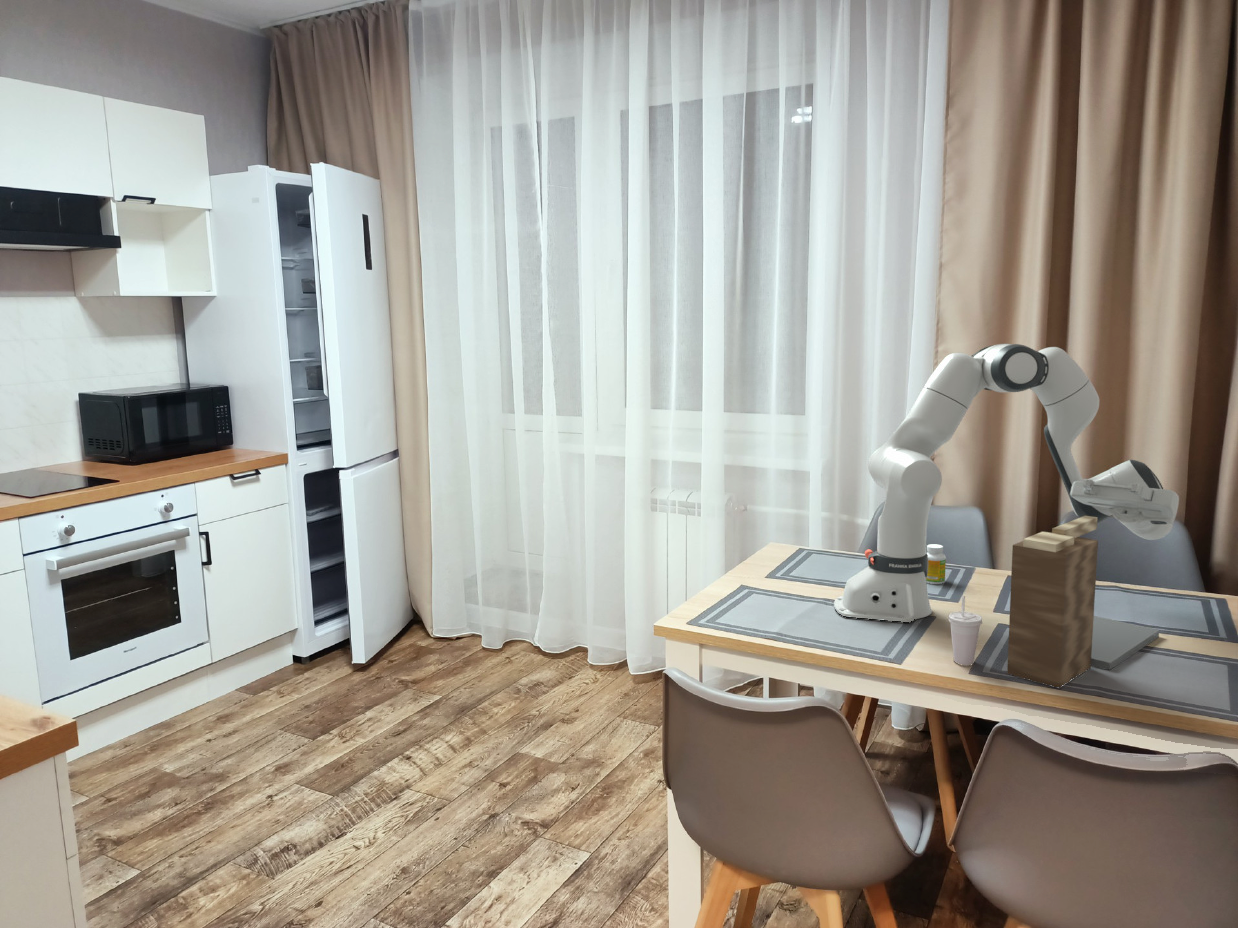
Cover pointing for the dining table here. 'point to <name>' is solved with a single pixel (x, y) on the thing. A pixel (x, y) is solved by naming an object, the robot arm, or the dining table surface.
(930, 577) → the supplement bottle
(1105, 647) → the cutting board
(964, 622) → the smoothie
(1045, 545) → the stepped light wood bar
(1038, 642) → the walnut stand
